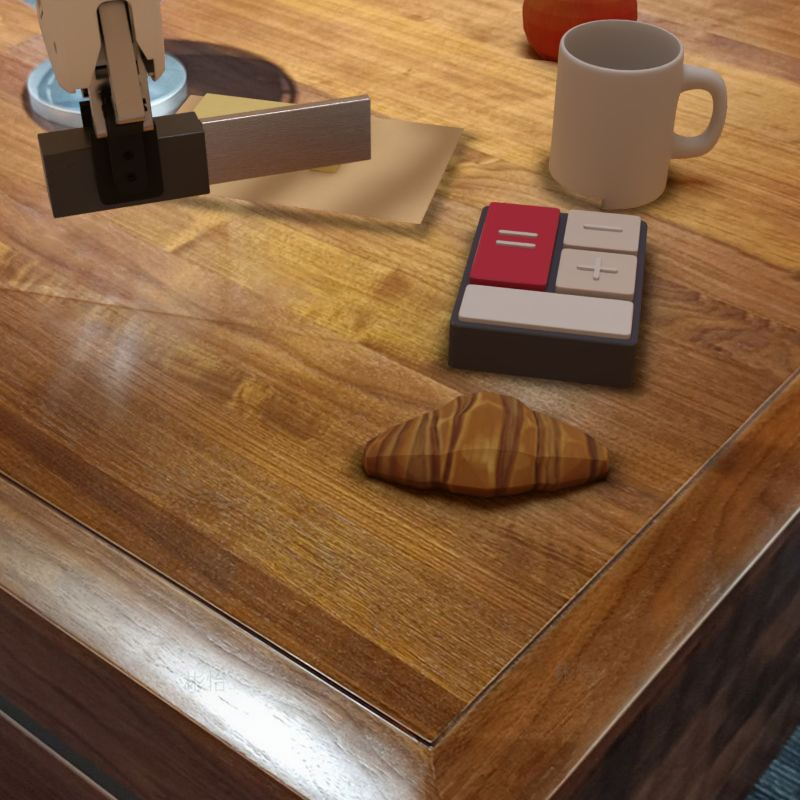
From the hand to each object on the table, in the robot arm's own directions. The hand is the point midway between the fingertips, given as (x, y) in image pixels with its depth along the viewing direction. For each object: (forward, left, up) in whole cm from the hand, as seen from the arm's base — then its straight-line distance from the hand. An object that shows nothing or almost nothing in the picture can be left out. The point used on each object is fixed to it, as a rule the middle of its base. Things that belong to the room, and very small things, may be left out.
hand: (126, 181), depth 69 cm
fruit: (+17, +52, -15) cm, 57 cm away
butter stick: (-4, +28, -14) cm, 31 cm away
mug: (+24, +32, -15) cm, 43 cm away
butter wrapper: (0, +28, -15) cm, 32 cm away
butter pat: (+2, +28, -14) cm, 31 cm away
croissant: (+20, -1, -15) cm, 25 cm away
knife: (+4, +2, -1) cm, 5 cm away
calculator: (+21, +15, -15) cm, 30 cm away
